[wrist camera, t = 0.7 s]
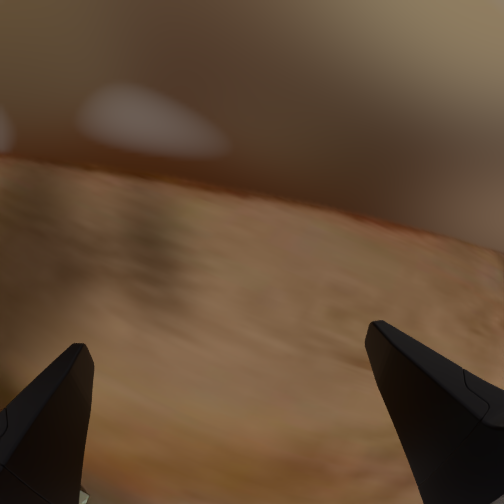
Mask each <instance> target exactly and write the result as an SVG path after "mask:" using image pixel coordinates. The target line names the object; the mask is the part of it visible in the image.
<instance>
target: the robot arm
mask: <svg viewBox="0 0 504 504" xmlns="http://www.w3.org/2000/svg"><path fill="white" fill-rule="evenodd" d="M365 348H366V351H367V354H368V357H369V361H370V364H371V367H372V370H373V374H374V377H375V380H376V383H377V386H378V388H379V391H380V393H381V395H382V398H383V400H384V403H385V405H386V407H387V410H388V412H389V414H390V417H391V419H392V422H393V424H394V427H395V429H396V431H397V434H398V436H399V439H400V441H401V444H402V446H403V449H404V452H405V454H406V457H407V459H408V462H409V464H410V467H411V470H412V472H413V475H414V478H415V480H416V483H417V486H419V487H418V489H419V492H420V495H421V497H422V500H423V503H424V504H504V390H502V389H500V388H498V387H496V386H494V385H492V384H490V383H488V382H486V381H484V380H482V379H481V378H479V377H477V376H475V375H474V374H472V373H470V372H469V371H467V370H465V369H462V367H460V366H459V365H457V364H455V363H454V362H452V361H450V360H449V359H447V358H445V357H444V356H442V355H440V354H439V353H437V352H435V351H434V350H432V349H430V348H429V347H427V346H425V345H424V344H422V343H420V342H419V341H417V340H415V339H414V338H412V337H410V336H408V335H407V334H405V333H403V332H402V331H400V330H398V329H397V328H395V327H393V326H392V325H390V324H388V323H387V322H385V321H383V320H378V321H373V322H371V323H370V324H369V327H368V331H367V335H366V338H365ZM93 377H94V362H93V359H92V357H91V355H90V353H89V350H88V348H87V346H86V345H85V344H84V343H73V344H72V345H71V346H69V347H68V348H67V349H66V350H65V351H64V352H63V353H62V354H61V355H60V356H59V357H57V358H56V359H55V360H54V361H53V362H52V363H51V364H50V365H49V366H48V367H47V368H46V369H45V370H44V371H42V372H41V373H40V374H39V375H38V376H37V377H36V378H35V379H34V380H33V381H32V382H31V383H30V384H29V385H28V386H27V387H26V388H25V389H24V390H23V391H22V392H20V393H19V394H18V395H17V396H16V397H15V398H14V399H13V400H12V401H11V402H10V403H9V404H8V405H7V406H6V408H4V409H3V410H2V411H1V412H0V504H79V497H80V486H81V476H82V467H83V458H84V451H85V444H86V437H87V430H88V424H89V418H90V412H91V403H92V389H93Z"/></svg>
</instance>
